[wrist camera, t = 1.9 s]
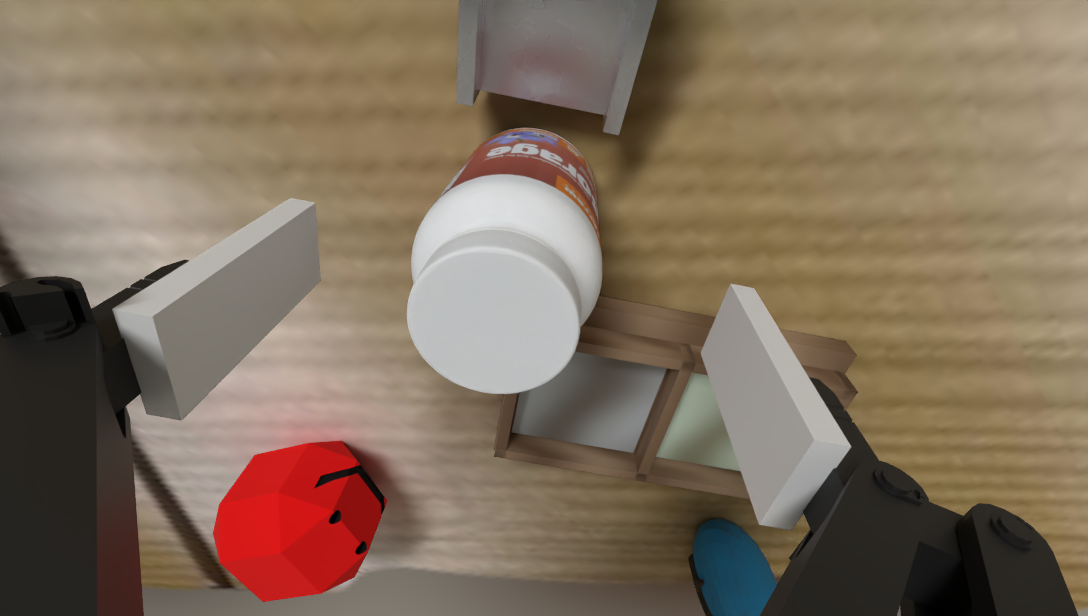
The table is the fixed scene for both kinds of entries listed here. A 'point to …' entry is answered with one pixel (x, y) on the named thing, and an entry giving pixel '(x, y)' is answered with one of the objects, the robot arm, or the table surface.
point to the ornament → (729, 571)
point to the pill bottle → (507, 264)
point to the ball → (298, 521)
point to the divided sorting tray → (645, 401)
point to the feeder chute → (554, 52)
